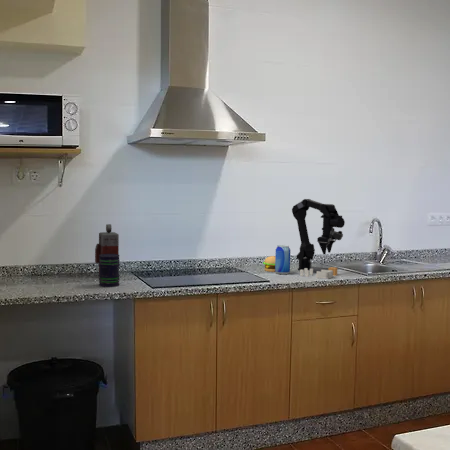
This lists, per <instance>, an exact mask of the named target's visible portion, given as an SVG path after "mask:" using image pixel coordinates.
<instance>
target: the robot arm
mask: <svg viewBox="0 0 450 450" xmlns="http://www.w3.org/2000/svg"><path fill="white" fill-rule="evenodd" d="M310 208H312V209H314V210H318V211H319V212H320V213H321V214H322V215H321V216H320V219H321V218H322V220H323V221H322V227H321V230H322V234H321V235H320V236H318V237H317V238H316V239H317V241H316V242H318V244H319V248H320V250H321V252H322V254H323V255H326V252H328V253H331V251H332V248H333V244H334V243H336V242H337V241H342V238H343V237H344V234H343V231H341V230H339V231H336V230H335V228H337V229H338V228H340V229H342V228H343V227H344V226H345V224H346V222H345V219H344V218H343V215H339V212H338V209H337V208H336V206H335V204H330V203H322V202H318V201H316V200H313V199H310V198H304V199H302V200H301V201H299V202H298V203H296V204H295V205H293V207H292V208H291V212H292V216H293V217H294V219H295V220H296V222H297V223H296V224H297V228H298V233H299V238H300V239H299V240H300V246H299V252H298V253H297V254H296V260H298V268H297V270H299V271H300V270H304V268H308V270H309V271H310V268H311V267H312V262H311V261H312V260H313V259H314V255H315V254H316V252H315V251H316V250H315V245H314V243H311V241H310V237H309V232H308V226H307V223H306V217H307V215H308V213H307V212H308V211H309V209H310Z"/></svg>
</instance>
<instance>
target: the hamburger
mask: <svg viewBox="0 0 450 450" xmlns="http://www.w3.org/2000/svg"><path fill="white" fill-rule="evenodd" d="M262 265H264V269H263V270H265V271H266V272H271V273H272V272H273V273H276V272H275V255H270V256H268V257H266V258H265V259H264V261H263V263H262Z"/></svg>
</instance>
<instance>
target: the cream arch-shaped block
mask: <svg viewBox="0 0 450 450" xmlns="http://www.w3.org/2000/svg"><path fill="white" fill-rule="evenodd" d="M315 276H316V279H327V280H329V279H331V278H334V276H333V271H332V270H321V272H320V271H317V273H316V275H315Z"/></svg>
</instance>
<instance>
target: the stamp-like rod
mask: <svg viewBox="0 0 450 450" xmlns="http://www.w3.org/2000/svg"><path fill="white" fill-rule="evenodd" d="M310 269H313V274H317V271H320V272H321V270H332V271H333V277H335V276H337V275H338V267H335V266H334V267H332V266H331V267H319V266H311V268H310Z"/></svg>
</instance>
